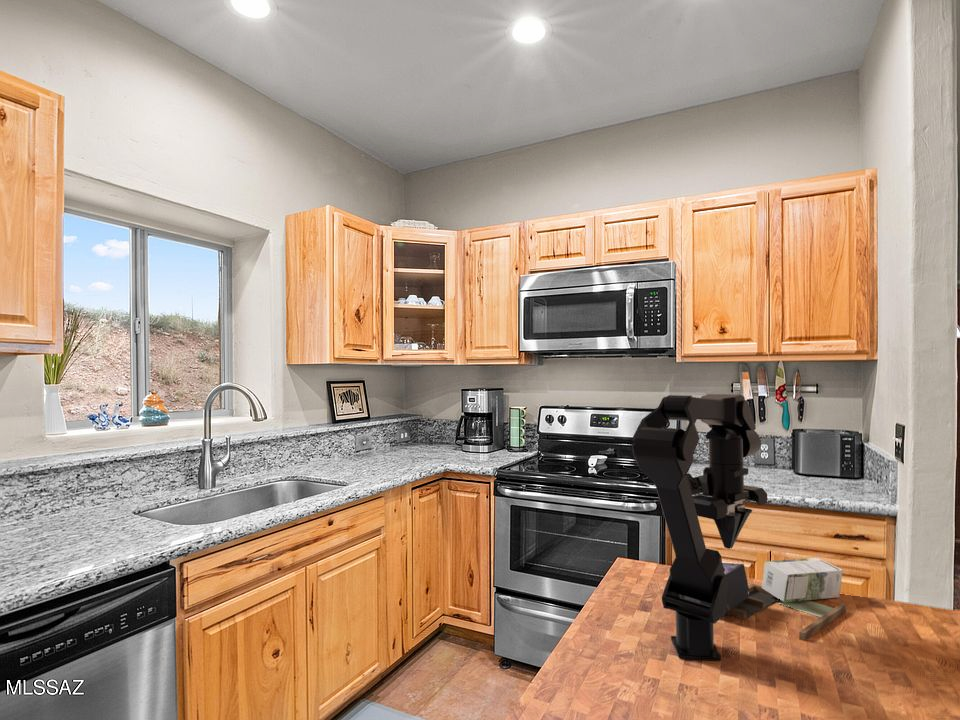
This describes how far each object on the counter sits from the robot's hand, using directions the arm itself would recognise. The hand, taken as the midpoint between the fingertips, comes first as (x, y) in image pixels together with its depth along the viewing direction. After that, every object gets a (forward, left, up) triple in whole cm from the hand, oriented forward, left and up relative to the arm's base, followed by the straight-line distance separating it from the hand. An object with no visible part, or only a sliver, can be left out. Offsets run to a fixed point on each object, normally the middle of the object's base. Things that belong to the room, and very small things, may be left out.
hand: (728, 547), depth 100 cm
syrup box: (+8, -11, -9) cm, 16 cm away
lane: (+5, -11, -13) cm, 18 cm away
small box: (+9, +6, -10) cm, 15 cm away
